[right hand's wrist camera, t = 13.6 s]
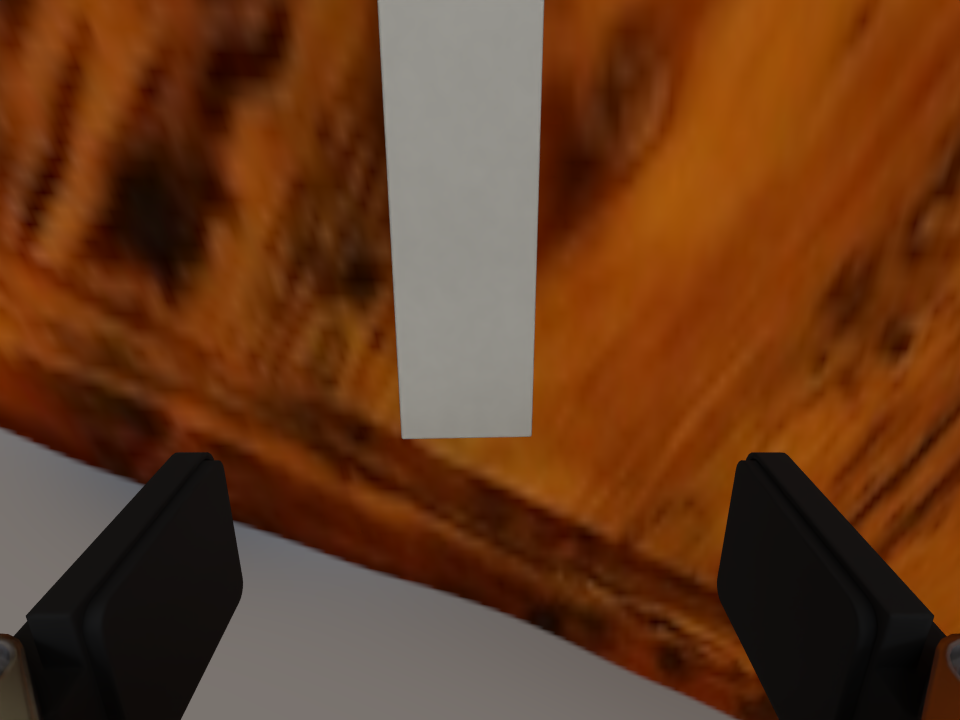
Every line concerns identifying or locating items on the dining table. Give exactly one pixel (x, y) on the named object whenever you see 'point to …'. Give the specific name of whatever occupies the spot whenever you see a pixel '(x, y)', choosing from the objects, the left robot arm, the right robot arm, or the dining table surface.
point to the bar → (463, 209)
